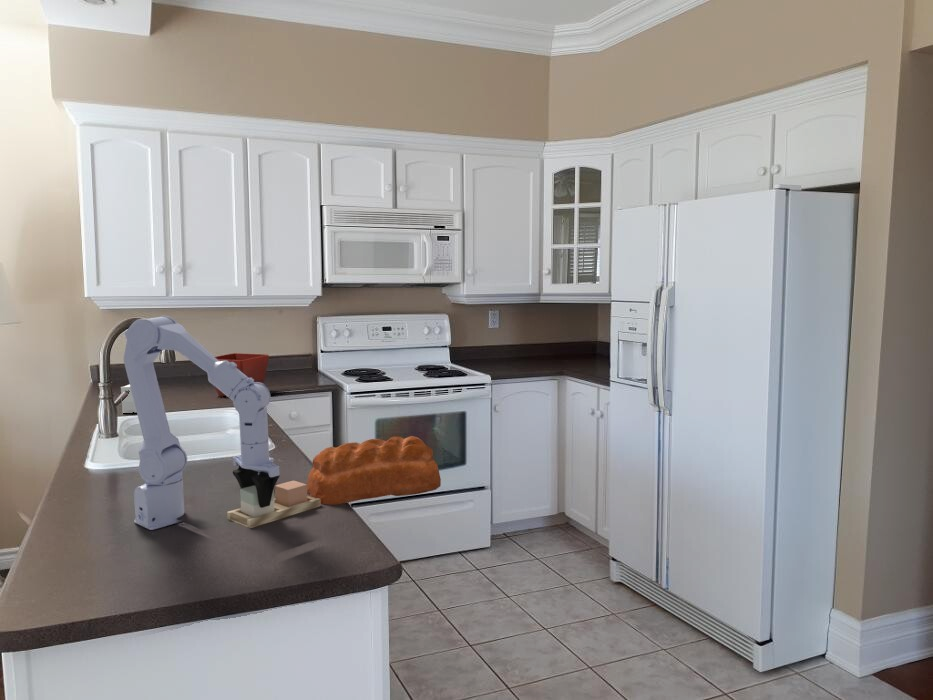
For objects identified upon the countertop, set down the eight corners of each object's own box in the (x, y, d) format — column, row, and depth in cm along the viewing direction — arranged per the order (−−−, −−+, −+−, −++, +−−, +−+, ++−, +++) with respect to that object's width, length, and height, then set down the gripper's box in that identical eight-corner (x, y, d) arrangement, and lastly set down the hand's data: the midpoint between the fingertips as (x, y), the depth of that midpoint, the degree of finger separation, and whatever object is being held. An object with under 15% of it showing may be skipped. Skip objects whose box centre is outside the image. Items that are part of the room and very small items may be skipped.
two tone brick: (274, 511, 156) (273, 488, 155) (253, 517, 152) (253, 494, 151) (261, 505, 159) (260, 483, 158) (240, 511, 155) (240, 488, 155)
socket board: (250, 533, 149) (250, 521, 149) (227, 523, 155) (226, 511, 155) (321, 510, 163) (321, 499, 162) (297, 502, 169) (296, 491, 168)
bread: (446, 490, 177) (446, 438, 175) (321, 513, 162) (319, 455, 160) (419, 475, 190) (418, 426, 189) (301, 494, 175) (299, 441, 174)
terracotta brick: (288, 512, 158) (288, 489, 158) (275, 507, 162) (274, 485, 161) (307, 506, 162) (306, 484, 162) (294, 501, 165) (293, 480, 165)
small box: (136, 414, 275) (135, 386, 274) (122, 414, 275) (120, 386, 274) (146, 410, 283) (144, 383, 282) (132, 410, 283) (130, 383, 282)
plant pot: (243, 400, 302) (241, 359, 300) (206, 397, 309) (204, 358, 307) (271, 392, 320) (269, 354, 318) (235, 390, 326) (234, 353, 324)
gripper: (290, 442, 152) (293, 505, 153) (251, 433, 161) (254, 492, 163) (261, 449, 147) (264, 514, 148) (222, 438, 156) (226, 500, 158)
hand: (257, 503), depth 155 cm, fingers closed on two tone brick, 5 cm apart
